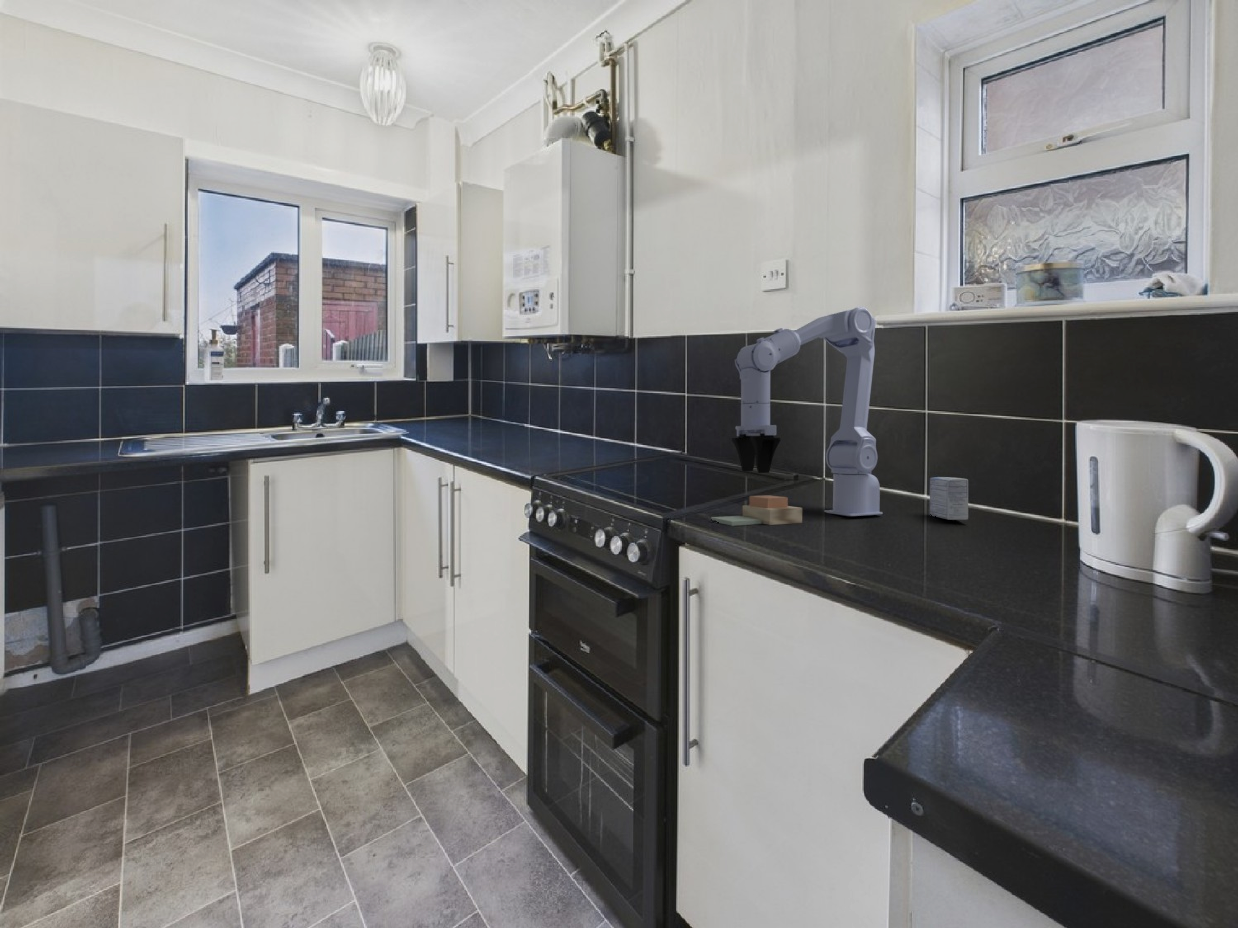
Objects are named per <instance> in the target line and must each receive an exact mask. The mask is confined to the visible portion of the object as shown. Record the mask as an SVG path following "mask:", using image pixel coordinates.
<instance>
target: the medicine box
mask: <svg viewBox="0 0 1238 928" xmlns="http://www.w3.org/2000/svg"><path fill="white" fill-rule="evenodd" d="M930 514H931V515H932V516H931V515H930ZM929 515H930V516H931V517H935V516H936V518H940V519H944V520H949V521H950V520H952V521H955V520H956V521H961V520H962V521H968V520H969V479H967V478H961V477H951V476H949V477H947V476H946V477H945V476H937V477H936V476H935V477H930V479H929Z"/></svg>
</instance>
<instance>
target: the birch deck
mask: <svg viewBox="0 0 1238 928" xmlns="http://www.w3.org/2000/svg"><path fill="white" fill-rule="evenodd" d="M742 516H743V517H749V518H754V519H760V520H762V524H764V525H769V526H771V525H772V526H773V525H786V524H787V525H789V524H791V525H792V524H803V507H799V506H798V507H797V506H792V505H788V507H786V508H762V507H755V506H749V504H748V505H747V504H746V505H743V504H742Z"/></svg>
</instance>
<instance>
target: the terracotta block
mask: <svg viewBox="0 0 1238 928" xmlns="http://www.w3.org/2000/svg"><path fill="white" fill-rule="evenodd" d="M788 498H789V497H786V496H778V495H777V496H776V495H770V494H769V495H767V494H766V495H764V494H763V495H749V501H748V502H749V504H748V505H749V506H755V507H762V508H786V507H788V506H789V502H788V501H789V499H788Z"/></svg>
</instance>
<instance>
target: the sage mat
mask: <svg viewBox="0 0 1238 928" xmlns="http://www.w3.org/2000/svg"><path fill="white" fill-rule="evenodd" d="M711 519H712V520H716V521H717V522H719V524H722V525H726V526H734V527H735V526H746V525H747V526H748V525H749V526H750V525H761V524H763V523H762V520H760V519H754V518H749V517H743V515H730V516H711V517H710V520H711ZM717 522H716V523H717Z"/></svg>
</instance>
